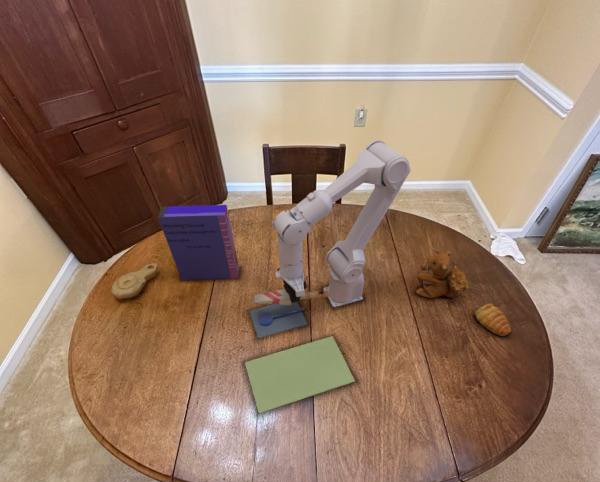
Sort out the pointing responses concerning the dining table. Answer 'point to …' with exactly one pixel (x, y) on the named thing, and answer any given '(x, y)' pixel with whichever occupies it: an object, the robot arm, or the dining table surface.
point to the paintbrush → (285, 297)
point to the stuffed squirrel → (441, 278)
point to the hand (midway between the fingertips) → (292, 295)
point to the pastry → (493, 319)
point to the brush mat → (297, 374)
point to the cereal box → (200, 241)
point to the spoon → (275, 316)
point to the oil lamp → (133, 282)
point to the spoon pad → (277, 319)
